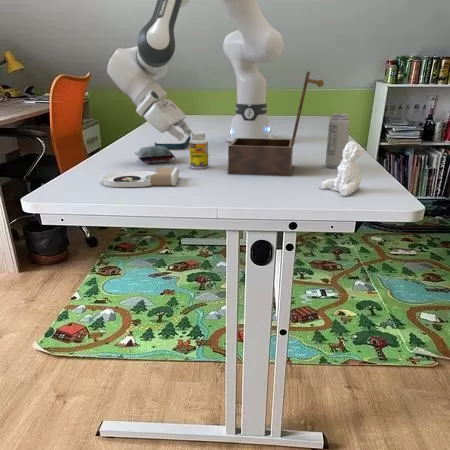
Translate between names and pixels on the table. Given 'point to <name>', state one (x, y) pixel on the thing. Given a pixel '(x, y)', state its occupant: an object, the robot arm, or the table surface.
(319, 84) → the chest lid
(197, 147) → the supplement bottle
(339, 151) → the energy drink can
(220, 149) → the table surface
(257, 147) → the chest
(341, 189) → the white creature statuette
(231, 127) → the robot arm
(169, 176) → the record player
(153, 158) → the packaged food
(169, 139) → the external hard drive
